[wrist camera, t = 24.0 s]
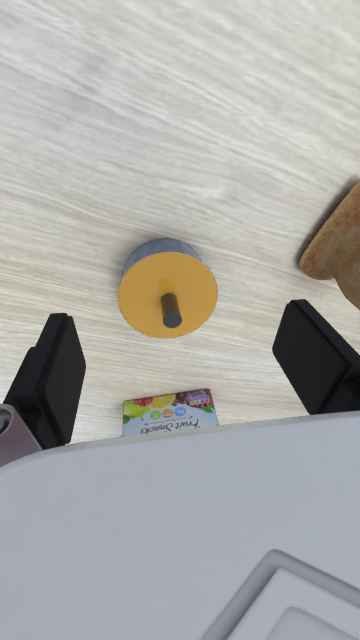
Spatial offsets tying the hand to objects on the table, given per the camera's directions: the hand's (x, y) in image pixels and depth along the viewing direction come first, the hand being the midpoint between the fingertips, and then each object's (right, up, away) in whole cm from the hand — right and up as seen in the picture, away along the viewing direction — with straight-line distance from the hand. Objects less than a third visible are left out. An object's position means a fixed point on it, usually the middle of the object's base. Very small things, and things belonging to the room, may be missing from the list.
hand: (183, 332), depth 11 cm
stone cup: (+27, +15, +32) cm, 44 cm away
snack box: (-3, -19, +53) cm, 56 cm away
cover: (-2, +4, +27) cm, 27 cm away
